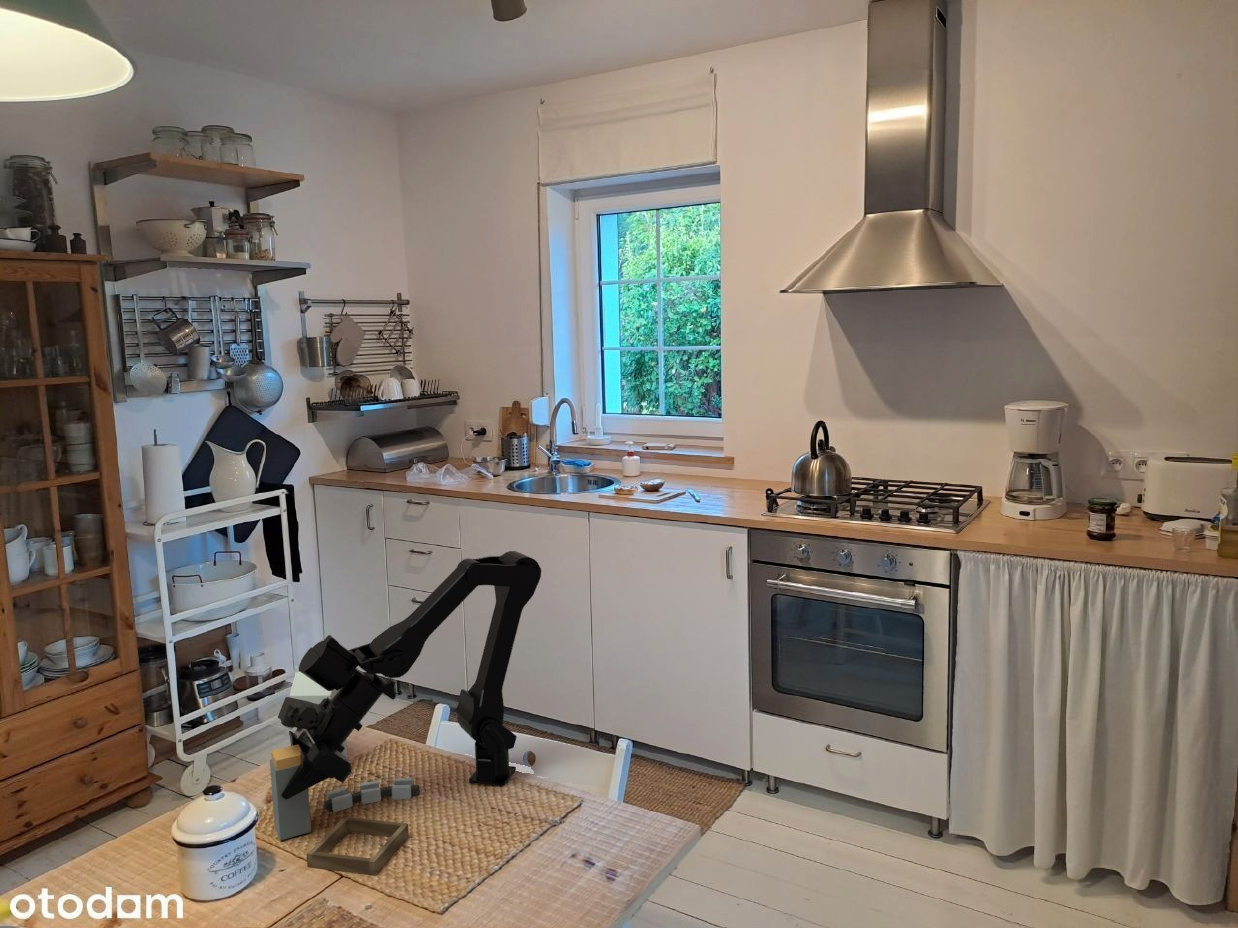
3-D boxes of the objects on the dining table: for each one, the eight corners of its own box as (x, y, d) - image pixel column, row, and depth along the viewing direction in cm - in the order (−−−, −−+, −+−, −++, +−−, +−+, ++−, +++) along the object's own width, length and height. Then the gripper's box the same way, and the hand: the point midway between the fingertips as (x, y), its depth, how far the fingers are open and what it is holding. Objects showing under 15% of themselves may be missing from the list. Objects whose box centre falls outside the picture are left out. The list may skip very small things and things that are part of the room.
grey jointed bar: (323, 801, 148) (323, 789, 147) (417, 784, 153) (416, 773, 153) (324, 814, 144) (324, 802, 143) (421, 796, 149) (420, 785, 148)
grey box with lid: (304, 818, 142) (299, 743, 140) (311, 831, 138) (305, 754, 136) (274, 827, 139) (269, 750, 138) (280, 840, 135) (274, 761, 134)
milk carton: (335, 778, 156) (329, 672, 153) (294, 778, 156) (287, 673, 154) (348, 759, 163) (342, 658, 161) (309, 760, 163) (302, 658, 161)
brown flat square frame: (345, 828, 139) (344, 816, 139) (408, 835, 137) (408, 823, 136) (307, 866, 129) (306, 853, 129) (375, 875, 126) (374, 861, 126)
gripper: (296, 661, 146) (228, 742, 141) (324, 697, 130) (248, 790, 125) (348, 697, 151) (284, 776, 146) (381, 736, 135) (310, 827, 130)
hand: (280, 791), depth 137 cm, fingers closed on grey box with lid, 4 cm apart
